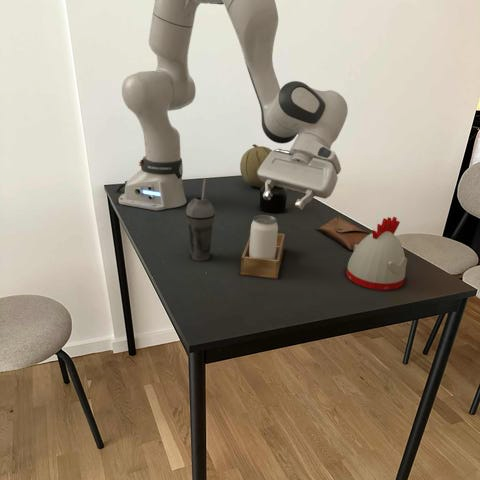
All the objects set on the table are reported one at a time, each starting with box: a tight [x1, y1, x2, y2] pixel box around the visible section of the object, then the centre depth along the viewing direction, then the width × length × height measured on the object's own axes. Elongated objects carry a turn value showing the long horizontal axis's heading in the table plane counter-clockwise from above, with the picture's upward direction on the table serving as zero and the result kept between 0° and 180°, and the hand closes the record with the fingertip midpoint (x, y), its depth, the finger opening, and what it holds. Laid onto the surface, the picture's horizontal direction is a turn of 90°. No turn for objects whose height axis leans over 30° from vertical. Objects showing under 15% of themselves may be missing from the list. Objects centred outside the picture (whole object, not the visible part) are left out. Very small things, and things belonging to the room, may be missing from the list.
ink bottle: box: [258, 183, 288, 214], centre depth 149 cm, size 10×9×12 cm
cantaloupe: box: [239, 143, 273, 189], centre depth 170 cm, size 15×15×15 cm
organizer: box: [240, 233, 286, 279], centre depth 116 cm, size 9×17×5 cm, turn 171°
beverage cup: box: [185, 178, 216, 262], centre depth 113 cm, size 7×7×20 cm
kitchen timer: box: [345, 216, 408, 291], centre depth 109 cm, size 14×14×15 cm
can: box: [249, 214, 279, 260], centre depth 111 cm, size 6×6×12 cm
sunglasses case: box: [316, 214, 371, 252], centre depth 132 cm, size 18×7×7 cm
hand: (281, 203), depth 111 cm, fingers open, 8 cm apart
